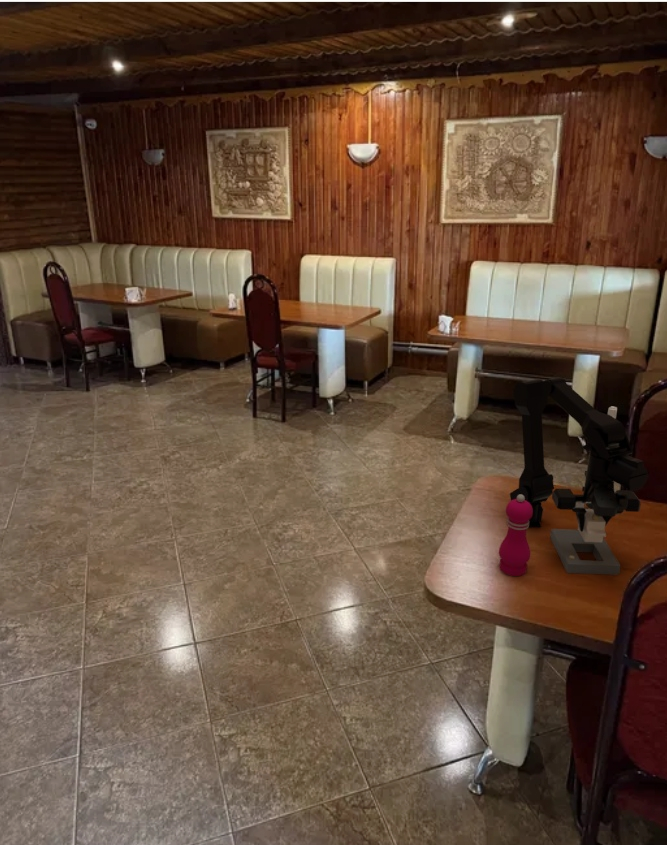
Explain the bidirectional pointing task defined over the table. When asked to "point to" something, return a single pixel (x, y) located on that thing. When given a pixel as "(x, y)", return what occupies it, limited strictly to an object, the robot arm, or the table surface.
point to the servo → (593, 527)
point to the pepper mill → (516, 538)
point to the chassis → (573, 542)
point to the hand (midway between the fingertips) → (590, 531)
